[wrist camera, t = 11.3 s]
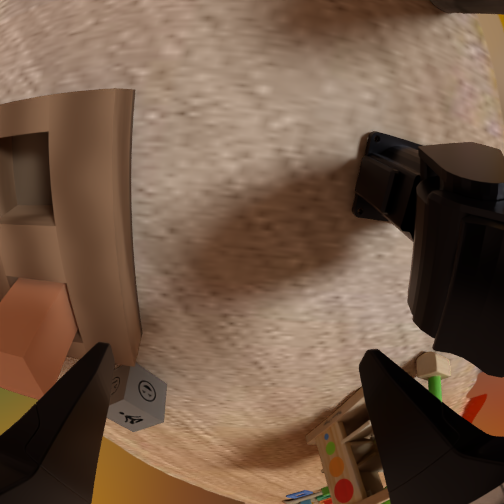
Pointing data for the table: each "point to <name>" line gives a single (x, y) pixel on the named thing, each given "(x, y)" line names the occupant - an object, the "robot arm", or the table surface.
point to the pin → (34, 335)
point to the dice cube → (136, 398)
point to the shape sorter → (311, 497)
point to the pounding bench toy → (363, 442)
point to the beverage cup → (470, 6)
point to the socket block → (73, 209)
